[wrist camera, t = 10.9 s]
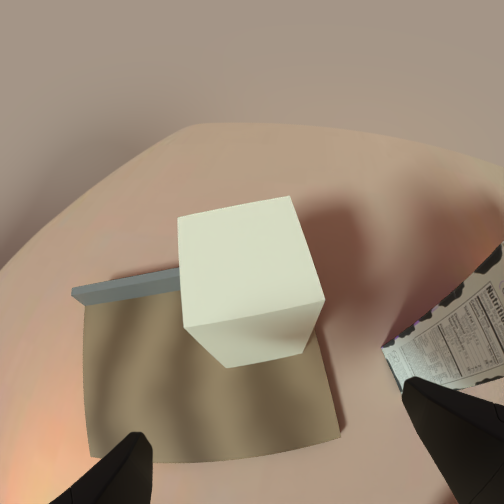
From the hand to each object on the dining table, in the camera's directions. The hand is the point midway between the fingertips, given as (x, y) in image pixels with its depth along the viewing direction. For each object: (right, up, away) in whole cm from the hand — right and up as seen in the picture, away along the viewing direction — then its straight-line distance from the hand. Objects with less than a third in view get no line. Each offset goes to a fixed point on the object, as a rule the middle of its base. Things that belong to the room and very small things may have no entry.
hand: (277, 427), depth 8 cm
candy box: (+17, -3, +13) cm, 22 cm away
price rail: (-7, +2, +18) cm, 19 cm away
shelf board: (-6, -5, +14) cm, 16 cm away
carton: (0, 0, +15) cm, 15 cm away
